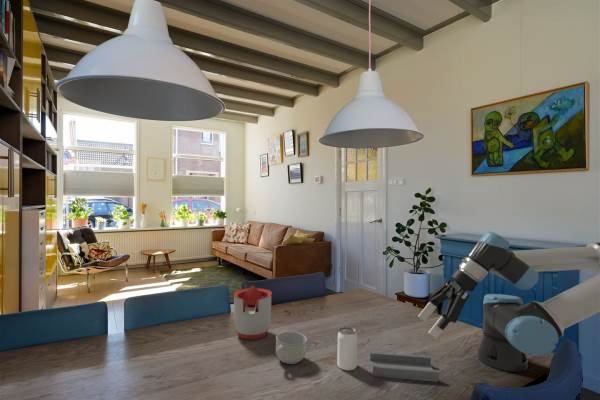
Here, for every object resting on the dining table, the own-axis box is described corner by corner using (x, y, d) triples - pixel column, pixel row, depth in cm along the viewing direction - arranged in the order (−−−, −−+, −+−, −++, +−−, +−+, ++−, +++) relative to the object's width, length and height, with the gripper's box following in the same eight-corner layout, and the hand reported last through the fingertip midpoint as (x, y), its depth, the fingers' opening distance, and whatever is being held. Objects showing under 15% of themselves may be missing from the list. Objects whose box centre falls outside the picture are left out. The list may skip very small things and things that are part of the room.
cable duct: (429, 364, 112) (429, 356, 112) (438, 381, 101) (438, 372, 101) (369, 360, 114) (370, 351, 114) (372, 376, 104) (372, 367, 104)
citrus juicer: (228, 344, 125) (229, 292, 125) (236, 326, 142) (236, 280, 142) (270, 344, 125) (270, 292, 125) (272, 326, 143) (273, 281, 142)
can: (350, 360, 114) (351, 325, 114) (360, 369, 108) (360, 333, 108) (333, 363, 112) (334, 328, 112) (343, 372, 106) (343, 335, 106)
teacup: (289, 349, 121) (289, 328, 121) (312, 359, 114) (313, 336, 114) (262, 364, 111) (262, 340, 111) (286, 375, 104) (286, 350, 104)
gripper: (445, 260, 117) (408, 306, 118) (474, 277, 92) (426, 335, 93) (463, 273, 116) (426, 319, 118) (496, 293, 91) (448, 352, 93)
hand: (426, 326), depth 106 cm, fingers open, 13 cm apart
